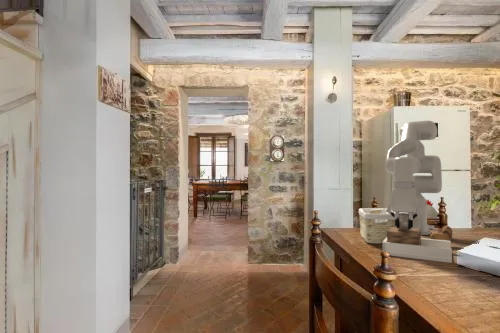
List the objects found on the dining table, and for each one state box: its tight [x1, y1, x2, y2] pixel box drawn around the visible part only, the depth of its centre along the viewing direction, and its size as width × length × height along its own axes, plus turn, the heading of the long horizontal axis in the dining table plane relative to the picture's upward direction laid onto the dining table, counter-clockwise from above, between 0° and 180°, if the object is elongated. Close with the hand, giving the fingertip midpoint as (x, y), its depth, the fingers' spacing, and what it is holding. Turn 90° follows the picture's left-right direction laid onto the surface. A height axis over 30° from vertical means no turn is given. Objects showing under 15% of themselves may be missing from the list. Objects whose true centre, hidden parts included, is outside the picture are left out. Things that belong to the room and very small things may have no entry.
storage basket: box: [358, 207, 399, 245], centre depth 161 cm, size 24×16×15 cm
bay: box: [381, 237, 453, 264], centre depth 133 cm, size 25×17×5 cm
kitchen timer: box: [426, 199, 439, 217], centre depth 206 cm, size 14×14×15 cm
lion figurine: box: [429, 225, 453, 241], centre depth 144 cm, size 15×5×9 cm, turn 116°
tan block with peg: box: [387, 212, 422, 245], centre depth 136 cm, size 12×12×15 cm
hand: (404, 228), depth 136 cm, fingers closed on tan block with peg, 4 cm apart
